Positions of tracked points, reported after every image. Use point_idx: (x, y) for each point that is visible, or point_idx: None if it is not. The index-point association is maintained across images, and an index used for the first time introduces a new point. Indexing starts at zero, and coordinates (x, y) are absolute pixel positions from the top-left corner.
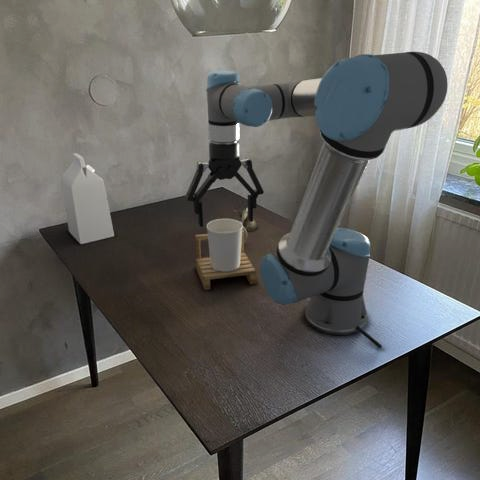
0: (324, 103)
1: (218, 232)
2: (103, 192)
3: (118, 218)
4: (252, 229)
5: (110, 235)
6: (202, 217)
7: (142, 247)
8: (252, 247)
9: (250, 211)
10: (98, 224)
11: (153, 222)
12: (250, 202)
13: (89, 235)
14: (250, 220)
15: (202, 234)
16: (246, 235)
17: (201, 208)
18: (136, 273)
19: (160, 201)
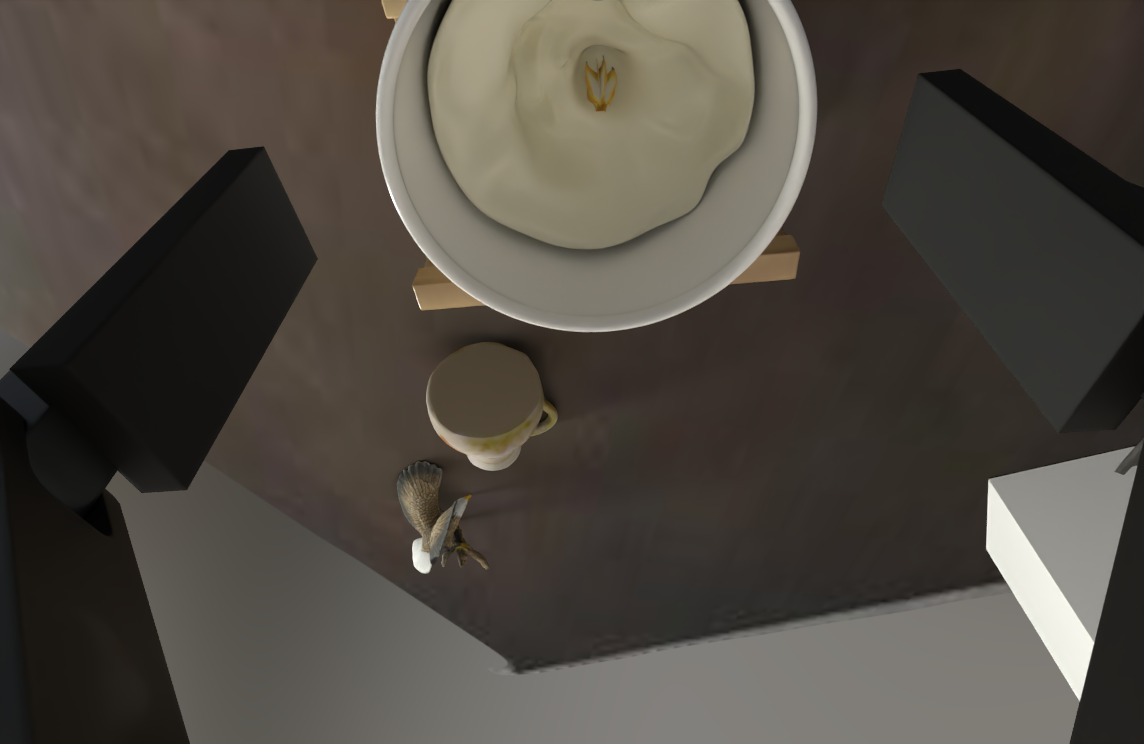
0: None
1: None
2: None
3: (907, 571)
4: (414, 467)
5: (1010, 480)
6: (991, 126)
7: (922, 392)
8: (411, 336)
9: (194, 217)
10: (1095, 522)
11: (796, 542)
12: (110, 307)
13: (1125, 476)
14: (252, 153)
15: (740, 279)
16: (430, 387)
17: (1106, 201)
18: (1095, 147)
19: (727, 633)
